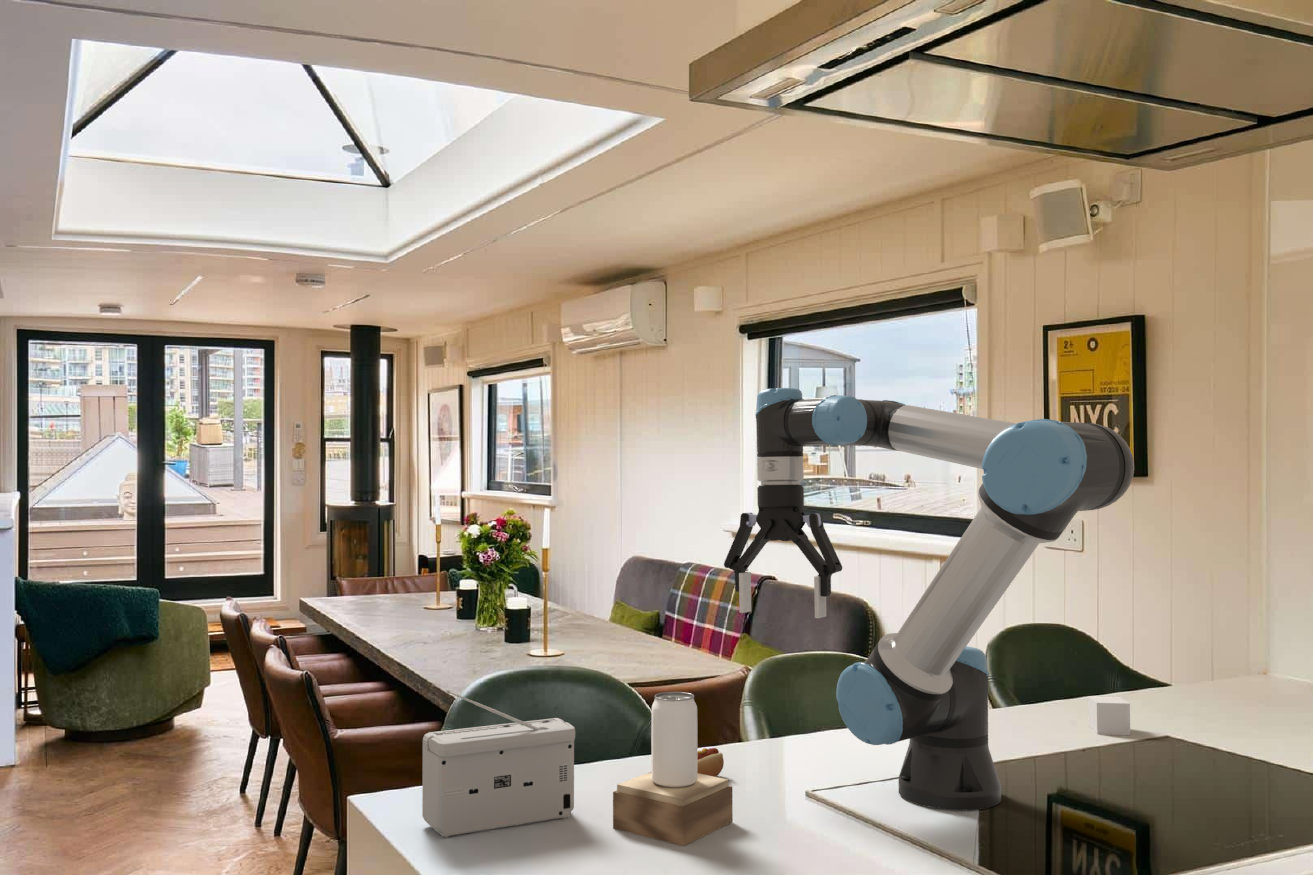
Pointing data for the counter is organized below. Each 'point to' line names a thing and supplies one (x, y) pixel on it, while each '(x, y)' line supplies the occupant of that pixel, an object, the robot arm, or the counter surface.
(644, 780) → the pedestal
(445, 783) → the stereo radio cassette player
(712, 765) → the food
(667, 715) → the can
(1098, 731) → the grey cube
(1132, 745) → the counter surface
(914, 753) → the robot arm
